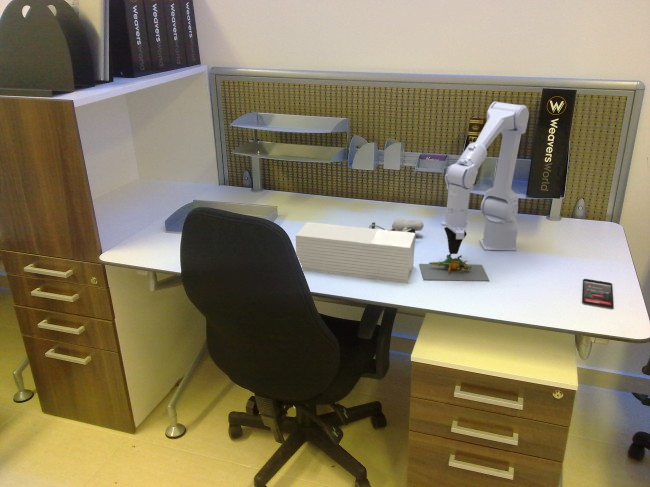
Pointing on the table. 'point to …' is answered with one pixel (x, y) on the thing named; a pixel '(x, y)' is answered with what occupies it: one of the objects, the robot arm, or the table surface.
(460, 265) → the figurine
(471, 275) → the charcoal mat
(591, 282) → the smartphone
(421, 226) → the clip-on lamp
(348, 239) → the stack of papers
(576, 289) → the table surface
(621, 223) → the table surface
